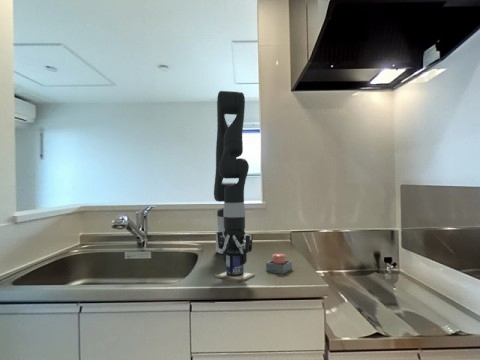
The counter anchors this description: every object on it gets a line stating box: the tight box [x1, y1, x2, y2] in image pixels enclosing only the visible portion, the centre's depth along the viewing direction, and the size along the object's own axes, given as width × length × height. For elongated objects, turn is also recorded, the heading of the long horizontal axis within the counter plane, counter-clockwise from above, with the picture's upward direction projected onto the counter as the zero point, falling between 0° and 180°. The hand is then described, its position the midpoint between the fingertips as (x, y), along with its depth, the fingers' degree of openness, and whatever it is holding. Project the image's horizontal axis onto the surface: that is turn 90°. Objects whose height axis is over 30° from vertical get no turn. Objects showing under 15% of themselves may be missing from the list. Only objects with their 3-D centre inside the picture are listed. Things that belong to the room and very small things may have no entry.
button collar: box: [265, 259, 293, 275], centre depth 110 cm, size 7×7×3 cm
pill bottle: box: [225, 243, 245, 276], centre depth 103 cm, size 6×6×11 cm
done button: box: [271, 253, 287, 265], centre depth 110 cm, size 5×5×4 cm
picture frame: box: [214, 270, 256, 284], centre depth 103 cm, size 11×9×1 cm
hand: (234, 262), depth 103 cm, fingers open, 6 cm apart
